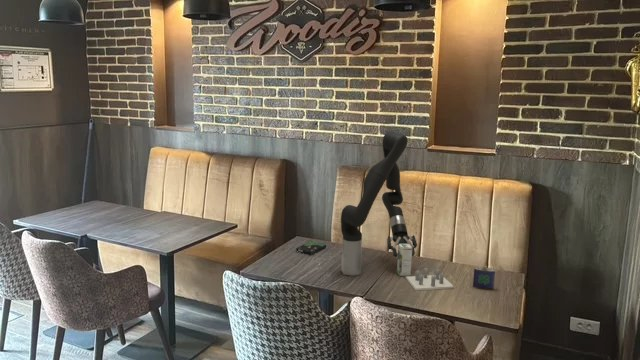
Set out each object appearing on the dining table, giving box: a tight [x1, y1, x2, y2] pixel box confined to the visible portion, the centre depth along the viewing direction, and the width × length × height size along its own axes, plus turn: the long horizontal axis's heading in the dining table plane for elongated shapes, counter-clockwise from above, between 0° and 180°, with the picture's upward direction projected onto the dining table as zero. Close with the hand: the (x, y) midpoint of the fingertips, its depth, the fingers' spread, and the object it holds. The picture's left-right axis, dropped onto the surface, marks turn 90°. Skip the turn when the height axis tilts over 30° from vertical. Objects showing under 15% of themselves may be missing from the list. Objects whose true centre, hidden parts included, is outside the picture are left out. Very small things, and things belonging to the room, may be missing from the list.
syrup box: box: [396, 244, 413, 277], centre depth 253 cm, size 6×6×14 cm
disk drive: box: [295, 241, 327, 256], centre depth 287 cm, size 10×3×15 cm
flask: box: [472, 265, 496, 291], centre depth 238 cm, size 9×3×11 cm, turn 74°
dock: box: [405, 267, 454, 291], centre depth 243 cm, size 18×14×6 cm
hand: (404, 256), depth 253 cm, fingers open, 8 cm apart
